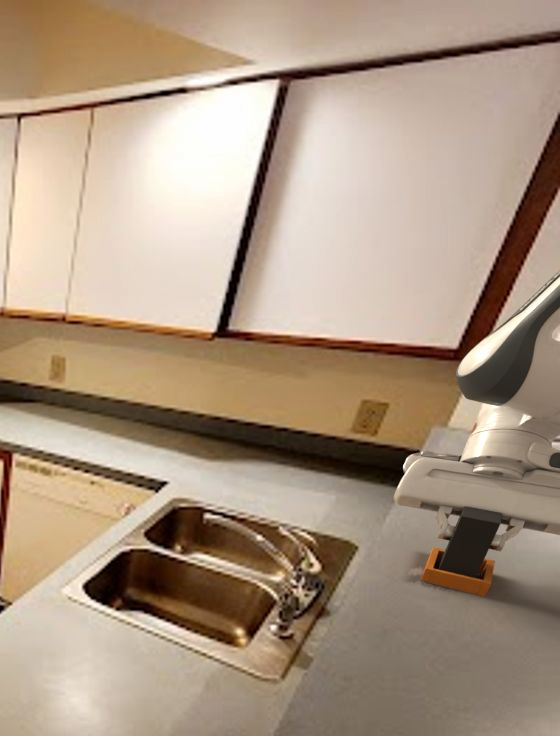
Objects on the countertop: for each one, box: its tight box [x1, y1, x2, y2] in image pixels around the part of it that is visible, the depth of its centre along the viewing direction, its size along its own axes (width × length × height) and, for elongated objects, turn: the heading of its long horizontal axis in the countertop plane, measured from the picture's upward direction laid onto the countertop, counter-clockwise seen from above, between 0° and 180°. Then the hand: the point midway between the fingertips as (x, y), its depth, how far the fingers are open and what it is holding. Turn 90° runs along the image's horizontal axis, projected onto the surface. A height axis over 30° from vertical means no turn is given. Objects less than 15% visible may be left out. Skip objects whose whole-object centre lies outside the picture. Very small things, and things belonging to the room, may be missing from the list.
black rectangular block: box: [437, 506, 502, 578], centre depth 91 cm, size 4×6×10 cm, turn 135°
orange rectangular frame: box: [420, 547, 496, 597], centre depth 93 cm, size 8×11×4 cm
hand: (469, 543), depth 90 cm, fingers closed on black rectangular block, 4 cm apart
